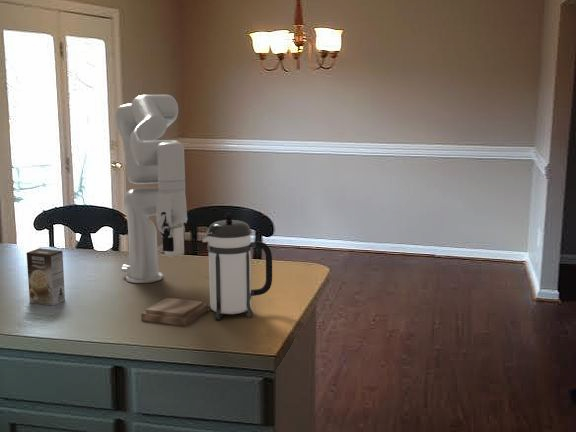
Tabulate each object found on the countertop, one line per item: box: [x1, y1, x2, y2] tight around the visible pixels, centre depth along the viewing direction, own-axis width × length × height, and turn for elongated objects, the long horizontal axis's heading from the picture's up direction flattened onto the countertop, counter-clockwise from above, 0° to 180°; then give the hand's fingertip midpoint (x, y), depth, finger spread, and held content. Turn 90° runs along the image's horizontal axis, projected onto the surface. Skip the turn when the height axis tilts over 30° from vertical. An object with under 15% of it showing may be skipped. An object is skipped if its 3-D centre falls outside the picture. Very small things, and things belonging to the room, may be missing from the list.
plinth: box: [140, 297, 209, 327], centre depth 202 cm, size 14×14×3 cm
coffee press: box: [202, 212, 273, 321], centre depth 202 cm, size 17×16×30 cm
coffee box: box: [26, 247, 66, 306], centre depth 214 cm, size 9×6×16 cm
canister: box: [164, 224, 185, 257], centre depth 199 cm, size 6×6×9 cm
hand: (174, 248), depth 199 cm, fingers closed on canister, 5 cm apart
